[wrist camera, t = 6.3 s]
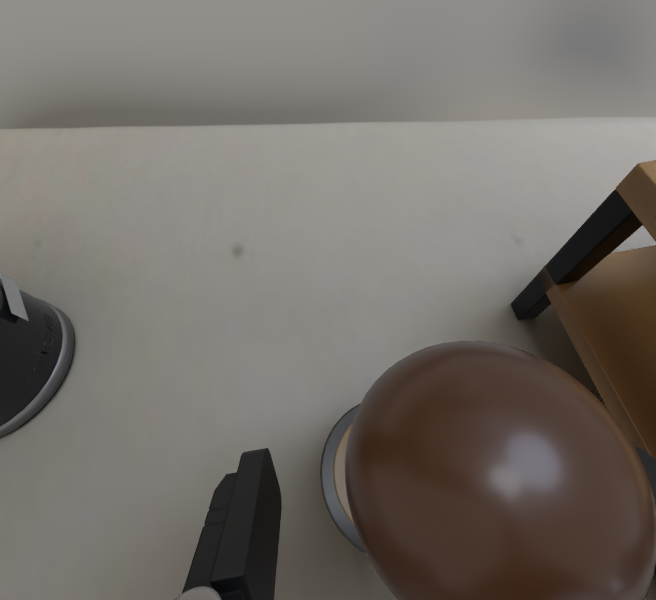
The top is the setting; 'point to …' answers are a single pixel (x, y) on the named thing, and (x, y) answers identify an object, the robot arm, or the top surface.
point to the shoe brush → (491, 482)
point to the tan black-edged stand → (610, 302)
